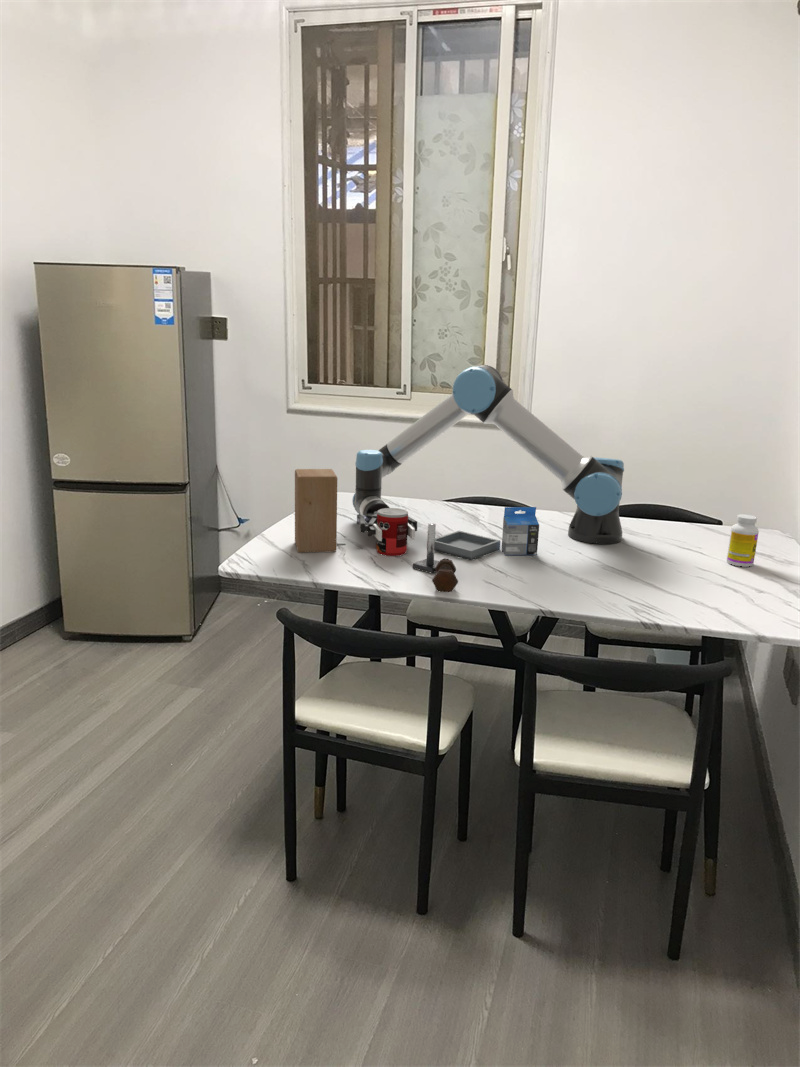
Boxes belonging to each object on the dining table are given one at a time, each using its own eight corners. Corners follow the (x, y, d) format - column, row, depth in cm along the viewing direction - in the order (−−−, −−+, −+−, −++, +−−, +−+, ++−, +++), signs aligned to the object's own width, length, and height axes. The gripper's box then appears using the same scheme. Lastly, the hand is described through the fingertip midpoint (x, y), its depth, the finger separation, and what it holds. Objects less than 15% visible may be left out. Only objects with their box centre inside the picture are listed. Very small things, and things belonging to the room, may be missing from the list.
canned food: (375, 547, 209) (376, 507, 206) (404, 548, 210) (406, 507, 207) (377, 556, 202) (378, 515, 199) (408, 556, 203) (410, 515, 200)
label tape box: (504, 556, 207) (508, 510, 203) (500, 551, 211) (504, 506, 207) (537, 555, 208) (541, 510, 205) (532, 551, 212) (536, 506, 209)
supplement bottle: (753, 569, 203) (761, 521, 200) (726, 565, 206) (733, 517, 202) (752, 562, 209) (760, 515, 206) (725, 558, 212) (732, 512, 208)
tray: (499, 549, 212) (500, 540, 211) (470, 560, 201) (471, 551, 201) (458, 539, 220) (459, 530, 219) (428, 549, 210) (429, 540, 209)
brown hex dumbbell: (448, 578, 193) (447, 598, 179) (430, 568, 193) (428, 586, 178) (461, 559, 192) (461, 577, 177) (443, 548, 192) (442, 565, 177)
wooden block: (297, 553, 202) (297, 476, 197) (294, 542, 212) (294, 468, 206) (336, 552, 204) (337, 476, 199) (331, 541, 214) (332, 468, 208)
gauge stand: (446, 568, 195) (449, 524, 192) (432, 573, 191) (434, 528, 188) (427, 562, 199) (429, 519, 196) (412, 567, 194) (414, 523, 191)
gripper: (410, 524, 225) (435, 547, 204) (339, 527, 219) (356, 551, 198) (412, 498, 223) (436, 519, 202) (339, 500, 217) (357, 522, 196)
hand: (396, 535), depth 200 cm, fingers closed on canned food, 8 cm apart
